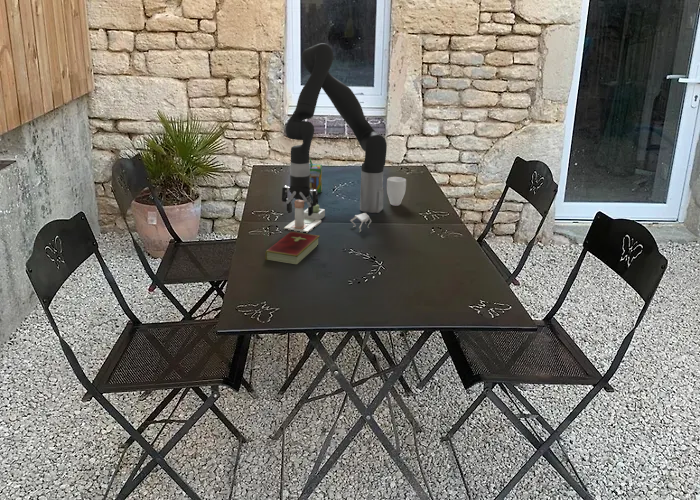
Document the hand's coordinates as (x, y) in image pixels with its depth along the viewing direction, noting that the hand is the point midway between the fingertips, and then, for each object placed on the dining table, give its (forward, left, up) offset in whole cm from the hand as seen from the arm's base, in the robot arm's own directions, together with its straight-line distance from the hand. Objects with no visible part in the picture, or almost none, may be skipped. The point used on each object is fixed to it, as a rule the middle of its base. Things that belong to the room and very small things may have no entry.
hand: (299, 213), depth 260 cm
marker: (0, 0, -5) cm, 5 cm away
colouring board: (0, -3, -6) cm, 7 cm away
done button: (0, -14, -4) cm, 15 cm away
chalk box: (+16, -50, -6) cm, 53 cm away
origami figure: (-22, -10, -6) cm, 25 cm away
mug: (-25, -48, -6) cm, 55 cm away
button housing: (0, -14, -6) cm, 16 cm away
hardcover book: (-8, +23, -7) cm, 26 cm away
